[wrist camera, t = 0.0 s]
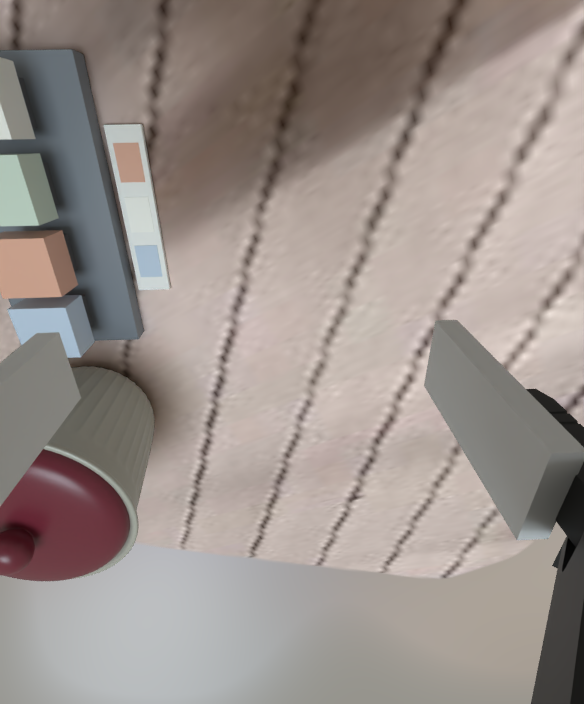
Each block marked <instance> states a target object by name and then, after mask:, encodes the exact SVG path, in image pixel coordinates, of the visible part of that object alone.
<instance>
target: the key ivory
mask: <svg viewBox="0 0 584 704" xmlns="http://www.w3.org/2000/svg"><path fill="white" fill-rule="evenodd" d="M15 139H36V138H35V135H34V132H33V128H32V125H31V121H30V118H29V114H28V111H27V107H26V104H25V101H24V97H23V94H22V90H21V87H20V83H19V80H18V77H17V73H16V70H15V66H14V63H13V61H11V60H8V59H4V58H1V57H0V140H15Z"/></svg>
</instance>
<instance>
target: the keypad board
mask: <svg viewBox="0 0 584 704" xmlns="http://www.w3.org/2000/svg"><path fill="white" fill-rule="evenodd" d="M0 57H1V58H4V59H8V60H11V61H13V63H14V66H15V70H16V73H17V77H18V80H19V83H20V87H21V90H22V94H23V97H24V101H25V104H26V107H27V111H28V114H29V118H30V121H31V125H32V128H33V132H34V135H35V138H36V139H15V140H0V154H30V153H40V156H41V159H42V162H43V166H44V169H45V173H46V176H47V180H48V183H49V186H50V190H51V193H52V197H53V200H54V204H55V207H56V210H57V214H58V217H59V218H58V219H55V220H53V221H50V222H47V223H45V224H42V225H39V226H0V233H1V232H4V231H44V230H62V231H63V234H64V238H65V241H66V245H67V248H68V252H69V255H70V259H71V262H72V265H73V269H74V272H75V276H76V279H77V283H78V285H77V286H76V287H75V288H73V289H72V290H71V291H69V292H68V293H67V294H65V295H81V296H82V300H83V303H84V307H85V310H86V313H87V317H88V320H89V324H90V327H91V331H92V334H93V337H94V341H96V340H127V339H139V338H140V336H141V335H142V333H143V332H144V329H143V324H142V319H141V315H140V310H139V306H138V301H137V297H136V292H135V288H134V283H133V278H132V274H131V269H130V265H129V260H128V256H127V251H126V247H125V242H124V238H123V233H122V228H121V224H120V219H119V215H118V210H117V206H116V201H115V197H114V192H113V188H112V183H111V178H110V174H109V169H108V165H107V160H106V156H105V151H104V147H103V142H102V138H101V133H100V128H99V124H98V119H97V115H96V110H95V106H94V101H93V97H92V92H91V87H90V83H89V78H88V74H87V69H86V65H85V60H84V56H83V54H81V53H79V52H77V51H75V50H72V49H67V50H0ZM23 299H24V298H10V299H9V302H10V304H11V307H12V306H13V305H15V304H17V303H18V302H20V301H21V300H23Z"/></svg>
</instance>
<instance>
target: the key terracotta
mask: <svg viewBox="0 0 584 704" xmlns="http://www.w3.org/2000/svg"><path fill="white" fill-rule="evenodd" d="M77 285H78V283H77V279H76V276H75V272H74V269H73V265H72V262H71V259H70V255H69V252H68V248H67V245H66V241H65V238H64V234H63V231H62V230H44V231H4V232H1V233H0V292H1V295H2V297H3V299H10V298H45V297H63V296H64V295H65V294H67V293H68V292H69V291H71V290H72V289H73V288H75V287H76V286H77Z"/></svg>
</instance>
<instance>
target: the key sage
mask: <svg viewBox="0 0 584 704" xmlns="http://www.w3.org/2000/svg"><path fill="white" fill-rule="evenodd" d="M58 218H59V217H58V214H57V210H56V207H55V204H54V200H53V197H52V193H51V190H50V186H49V183H48V180H47V176H46V173H45V169H44V166H43V162H42V159H41V156H40V153H30V154H0V226H39V225H42V224H45V223H47V222H50V221H53V220H55V219H58Z"/></svg>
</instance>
